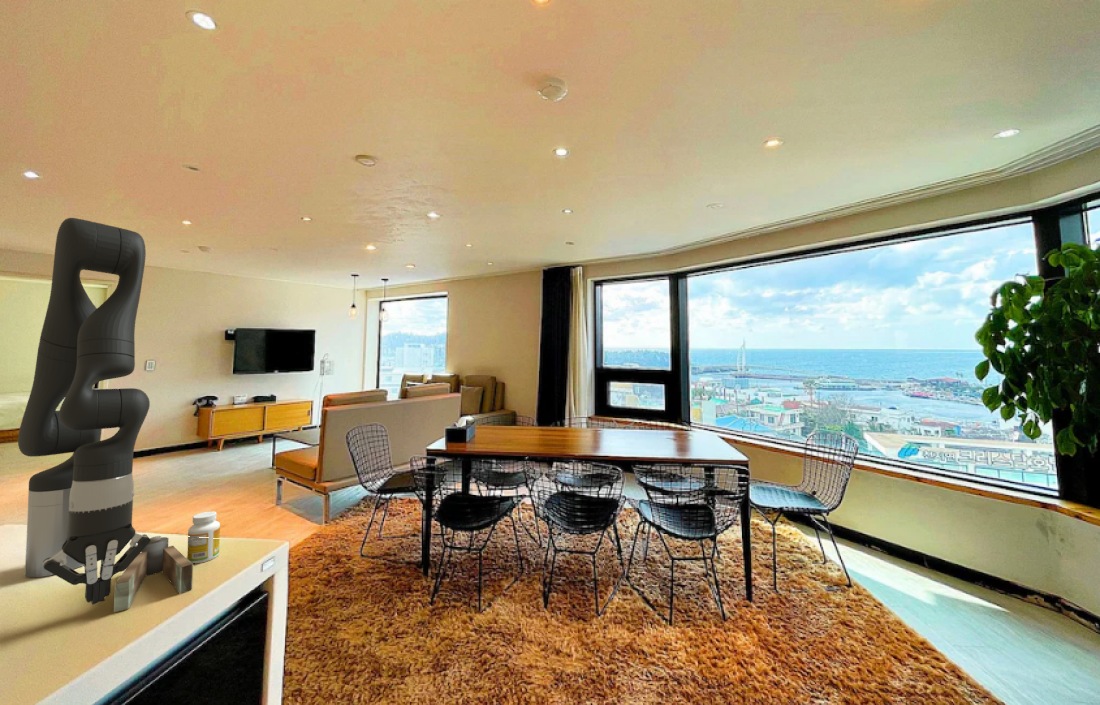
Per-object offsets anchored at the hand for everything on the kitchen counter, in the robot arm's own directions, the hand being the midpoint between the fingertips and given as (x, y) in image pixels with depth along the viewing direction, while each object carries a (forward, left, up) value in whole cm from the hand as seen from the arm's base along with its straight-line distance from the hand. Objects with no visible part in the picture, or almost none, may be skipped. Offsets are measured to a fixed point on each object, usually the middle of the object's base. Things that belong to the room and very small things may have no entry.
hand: (97, 601), depth 69 cm
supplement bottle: (-9, +17, -2) cm, 19 cm away
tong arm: (-3, +5, -2) cm, 6 cm away
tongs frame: (-4, +9, -2) cm, 10 cm away
